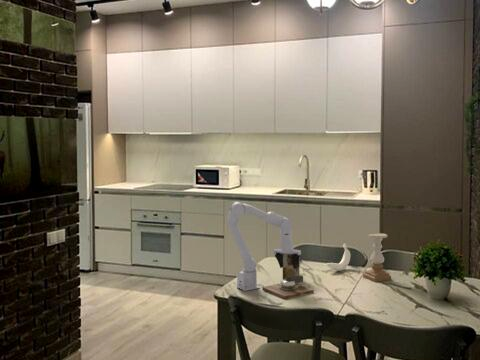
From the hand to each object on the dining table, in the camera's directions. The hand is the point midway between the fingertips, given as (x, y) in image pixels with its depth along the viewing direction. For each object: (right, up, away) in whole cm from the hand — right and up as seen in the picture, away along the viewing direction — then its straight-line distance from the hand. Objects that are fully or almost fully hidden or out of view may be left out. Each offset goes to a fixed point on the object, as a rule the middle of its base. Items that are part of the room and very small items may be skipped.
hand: (288, 268), depth 264 cm
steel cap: (+1, -8, -5) cm, 9 cm away
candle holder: (+49, -8, +16) cm, 52 cm away
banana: (+32, -7, +33) cm, 47 cm away
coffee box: (+3, -9, +15) cm, 18 cm away
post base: (-1, -10, -7) cm, 12 cm away
